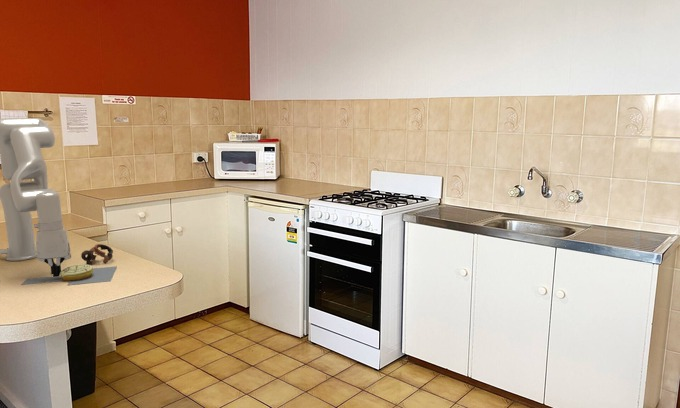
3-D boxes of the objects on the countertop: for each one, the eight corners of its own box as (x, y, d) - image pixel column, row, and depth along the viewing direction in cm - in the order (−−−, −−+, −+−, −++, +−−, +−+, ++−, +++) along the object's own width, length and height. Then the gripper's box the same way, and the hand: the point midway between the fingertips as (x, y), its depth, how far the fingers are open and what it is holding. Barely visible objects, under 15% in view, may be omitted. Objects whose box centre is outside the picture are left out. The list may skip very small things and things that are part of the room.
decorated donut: (63, 275, 197) (62, 265, 196) (94, 271, 200) (93, 261, 200) (59, 283, 187) (57, 272, 186) (92, 279, 191) (91, 269, 190)
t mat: (15, 290, 180) (15, 290, 180) (31, 274, 198) (31, 273, 198) (110, 281, 189) (110, 280, 189) (117, 266, 207) (117, 266, 207)
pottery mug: (99, 259, 220) (107, 242, 218) (111, 272, 216) (119, 255, 214) (72, 258, 209) (81, 241, 208) (84, 272, 205) (93, 254, 204)
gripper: (24, 230, 183) (30, 280, 187) (71, 226, 187) (77, 276, 190) (30, 225, 191) (36, 274, 194) (76, 222, 194) (81, 270, 198)
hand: (56, 275), depth 192 cm, fingers closed
